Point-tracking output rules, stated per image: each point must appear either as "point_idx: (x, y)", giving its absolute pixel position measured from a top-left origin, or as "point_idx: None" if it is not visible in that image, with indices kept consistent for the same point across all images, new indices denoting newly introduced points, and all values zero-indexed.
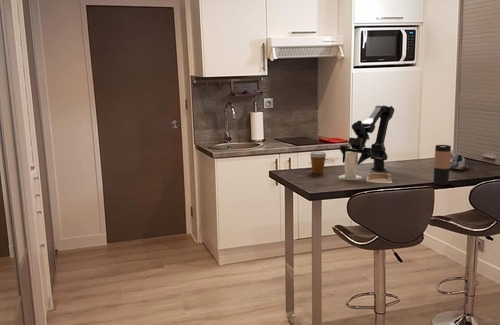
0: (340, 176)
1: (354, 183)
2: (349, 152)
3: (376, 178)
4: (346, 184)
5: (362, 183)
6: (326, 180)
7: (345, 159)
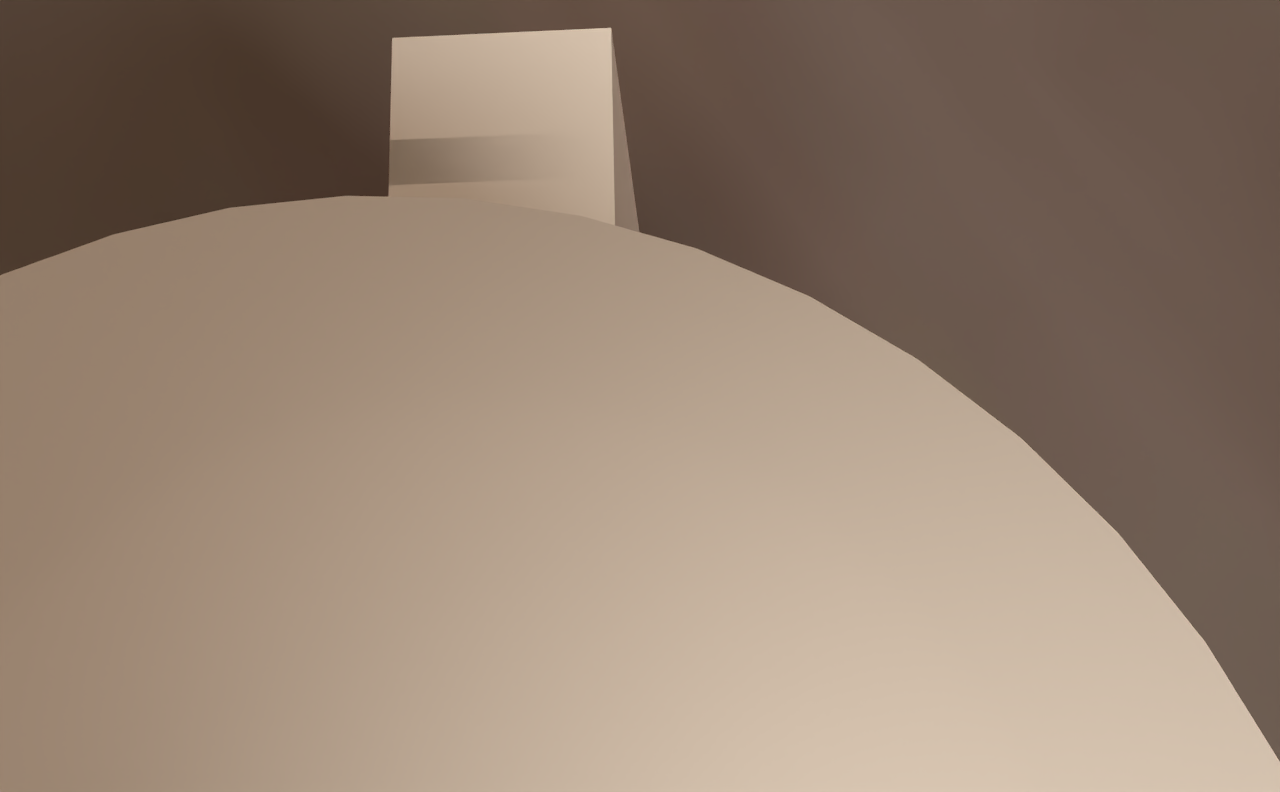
0: None
1: None
2: (398, 709)
3: None
4: (336, 15)
5: None
6: (1078, 53)
7: (549, 58)
